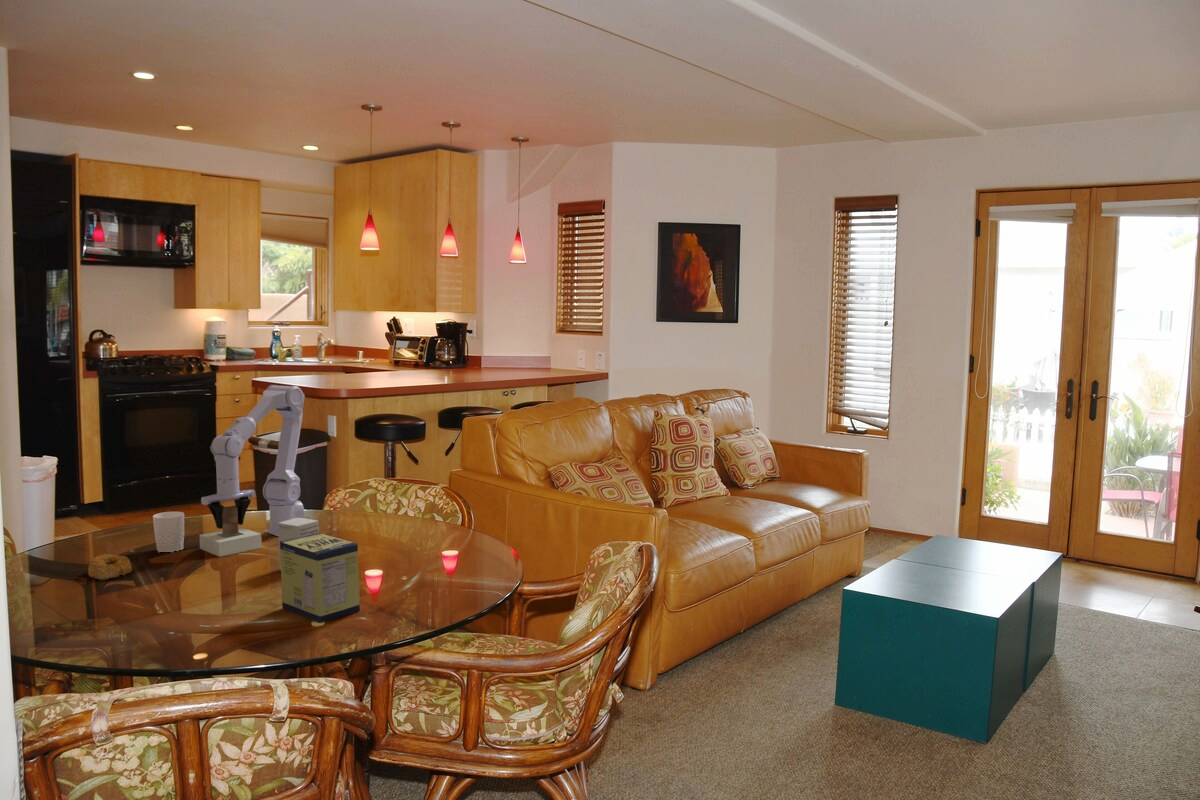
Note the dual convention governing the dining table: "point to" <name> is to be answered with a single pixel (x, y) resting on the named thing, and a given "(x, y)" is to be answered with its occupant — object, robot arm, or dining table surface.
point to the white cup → (169, 531)
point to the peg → (230, 520)
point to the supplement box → (296, 530)
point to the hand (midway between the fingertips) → (229, 526)
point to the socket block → (230, 542)
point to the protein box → (320, 577)
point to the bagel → (109, 566)
